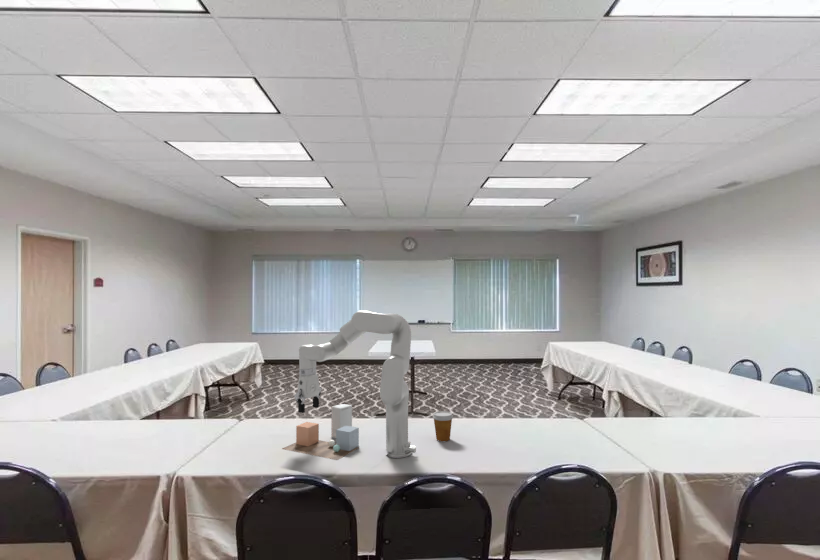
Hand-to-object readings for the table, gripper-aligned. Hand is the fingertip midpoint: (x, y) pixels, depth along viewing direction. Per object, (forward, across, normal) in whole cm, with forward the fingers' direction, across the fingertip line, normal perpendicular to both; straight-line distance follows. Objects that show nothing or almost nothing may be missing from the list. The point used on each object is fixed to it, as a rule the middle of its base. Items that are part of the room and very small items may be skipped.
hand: (308, 409), depth 190 cm
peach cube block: (+15, 0, +1) cm, 15 cm away
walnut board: (+16, -3, -9) cm, 19 cm away
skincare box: (+17, +15, -7) cm, 23 cm away
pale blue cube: (+15, +3, -19) cm, 24 cm away
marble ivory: (+13, +2, -12) cm, 18 cm away
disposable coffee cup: (+18, +35, -51) cm, 64 cm away
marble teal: (+14, -3, -19) cm, 24 cm away
